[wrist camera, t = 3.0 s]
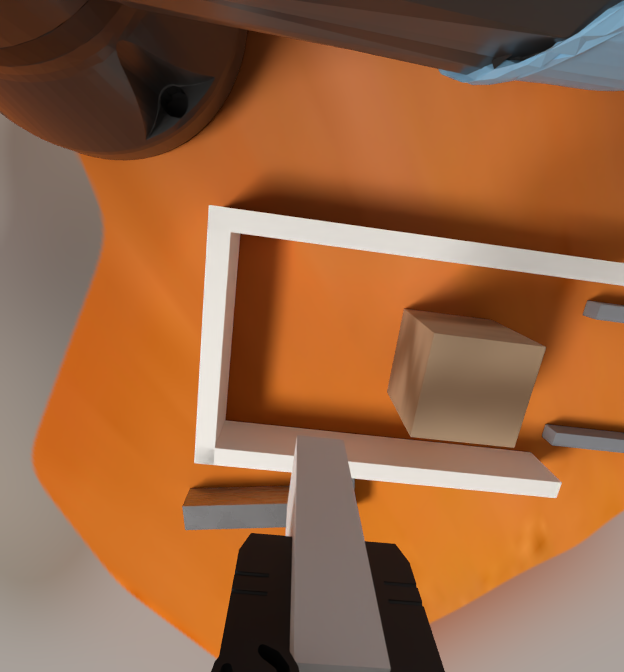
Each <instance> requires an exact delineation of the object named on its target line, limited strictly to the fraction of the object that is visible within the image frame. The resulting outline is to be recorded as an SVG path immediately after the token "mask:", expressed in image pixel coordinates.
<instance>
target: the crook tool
mask: <svg viewBox="0 0 624 672" xmlns="http://www.w3.org/2000/svg"><path fill="white" fill-rule="evenodd" d="M352 483H353V487H354V484H355V478H352ZM289 489H290V486H255V487H218V488H190V490H189V492H188V494H187V497H186V499H185V502H184V504H183V506H182V507H183V515H184V523H185V530H200V529H235V528H270V527H286V518H287V504H288V496H289Z"/></svg>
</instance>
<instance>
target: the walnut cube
mask: <svg viewBox="0 0 624 672" xmlns="http://www.w3.org/2000/svg"><path fill="white" fill-rule="evenodd" d="M545 349H546V347H545V346H543V345H541V344H539V343H537V342H535V341H533V340H531V339H529V338H527V337H525V336H523V335H521V334H519V333H517V332H515V331H513V330H511V329H509V328H507V327H505V326H503V325H501V324H499V323H497V322H495V321H493V320H490V319H482V318H474V317H466V316H458V315H450V314H442V313H435V312H427V311H419V310H411V309H404V312H403V317H402V321H401V326H400V331H399V336H398V341H397V346H396V351H395V356H394V361H393V366H392V370H391V375H390V380H389V385H388V390H387V393H388V395H389V397H390V398H391V400H392V402H393V404H394V406H395V408H396V410H397V412H398V414H399V416H400V418H401V420H402V422H403V424H404V426H405V427H406V429H407V431H408V433H409V435H410V437H416V438H426V439H435V440H445V441H454V442H464V443H473V444H483V445H493V446H502V447H512V448H514V447H515V444H516V441H517V438H518V434H519V431H520V428H521V425H522V422H523V419H524V416H525V412H526V409H527V406H528V403H529V400H530V397H531V393H532V390H533V387H534V384H535V381H536V378H537V375H538V371H539V368H540V365H541V362H542V359H543V356H544V352H545Z"/></svg>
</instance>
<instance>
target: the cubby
mask: <svg viewBox="0 0 624 672" xmlns="http://www.w3.org/2000/svg"><path fill="white" fill-rule="evenodd" d="M240 233H241V234H248V235H255V236H263V237H270V238H277V239H285V240H292V241H299V242H307V243H314V244H321V245H329V246H336V247H343V248H351V249H358V250H365V251H373V252H380V253H387V254H395V255H402V256H409V257H417V258H424V259H431V260H439V261H446V262H453V263H460V264H468V265H475V266H482V267H490V268H497V269H504V270H512V271H519V272H526V273H534V274H541V275H548V276H556V277H563V278H570V279H578V280H585V281H592V282H600V283H607V284H614V285H622V286H624V263H618V262H611V261H604V260H597V259H590V258H582V257H575V256H568V255H561V254H554V253H547V252H540V251H533V250H526V249H518V248H511V247H504V246H497V245H490V244H483V243H476V242H469V241H462V240H454V239H447V238H440V237H433V236H426V235H419V234H412V233H405V232H398V231H390V230H383V229H376V228H369V227H362V226H355V225H348V224H341V223H334V222H326V221H319V220H312V219H305V218H298V217H291V216H284V215H277V214H270V213H262V212H255V211H248V210H241V209H234V208H227V207H220V206H213V205H209V214H208V231H207V249H206V266H205V284H204V302H203V319H202V337H201V354H200V372H199V389H198V407H197V425H196V442H195V460H194V463H200V464H210V465H220V466H231V467H241V468H251V469H262V470H272V471H282V472H292V467H293V460H294V453H295V446H296V438H297V435H300V436H310V437H319V438H329V439H339V440H344V444H345V449H346V453H347V458H348V463H349V468H350V473H351V478H355V479H365V480H375V481H386V482H396V483H406V484H416V485H427V486H437V487H447V488H458V489H468V490H478V491H489V492H499V493H509V494H520V495H530V496H540V497H551V498H556V497H557V494H558V492H559V489H560V486H561V483H562V482H561V481H560V480H559V479H557V478H556V477H555V476H554V475H553V474H552V473H551V472H550V471H549V470H548V469H547V468H546V467H545V466H544V465H543V464H542V463H541V462H540V461H539V460H538V459H537V458H536V457H535V456H534V455H533V454H532V453H531V452H523V451H514V450H504V449H495V448H485V447H476V446H466V445H457V444H447V443H437V442H428V441H418V440H409V439H399V438H390V437H380V436H370V435H361V434H351V433H342V432H332V431H323V430H313V429H303V428H294V427H284V426H275V425H265V424H256V423H246V422H237V421H227V420H226V408H227V395H228V382H229V370H230V357H231V345H232V332H233V320H234V307H235V295H236V282H237V270H238V257H239V245H240Z"/></svg>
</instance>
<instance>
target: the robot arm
mask: <svg viewBox="0 0 624 672" xmlns="http://www.w3.org/2000/svg"><path fill="white" fill-rule="evenodd" d="M247 30H251V31H256V32H261V33H266V34H271V35H277V36H282V37H287V38H292V39H297V40H303V41H308V42H313V43H318V44H324V45H329V46H334V47H339V48H344V49H350V50H354V51H359V52H364V53H368V54H373V55H377V56H382V57H387V58H391V59H396V60H400V61H405V62H409V63H414V64H419V65H423V66H428V67H432V68H437V69H439V72H440V73H441V74H442V75H445V76H447V77H449V78H452V79H454V80H458V81H460V82H467V83H469V84H471V85H490V84H496V83H502V82H508V81H514V80H516V81H526V82H535V83H545V84H551V85H558V86H565V87H572V88H578V89H585V90H597V91H624V0H0V113H1V114H2V115H4V116H5V117H6V118H7V119H9V120H10V121H12V122H14V123H15V124H16V125H18V126H19V127H22V128H23V129H25V130H26V131H28V132H29V133H31V134H33V135H35V136H37V137H39V138H41V139H43V140H45V141H47V142H50V143H52V144H54V145H57V146H61V147H63V148H66V149H69V150H72V151H75V152H78V153H81V154H84V155H88V156H92V157H97V158H102V159H110V160H136V159H143V158H148V157H153V156H156V155H159V154H162V153H165V152H167V151H170V150H172V149H174V148H176V147H178V146H180V145H182V144H183V143H185V142H186V141H188V140H189V139H191V138H192V137H193V136H195V135H196V134H197V133H198V132H200V131H201V130H202V129H203V128H204V127H205V126H206V125H207V124H208V123H209V122H210V121H211V120H212V118H213V117H214V116H215V115H216V113H217V112H218V111H219V109H220V108H221V106H222V105H223V104H224V102H225V100H226V98H227V97H228V95H229V93H230V91H231V89H232V87H233V85H234V83H235V80H236V78H237V75H238V72H239V69H240V66H241V63H242V59H243V55H244V50H245V45H246V39H247ZM211 672H445V671H444V668H443V665H442V661H441V659H440V655H439V652H438V649H437V646H436V643H435V640H434V637H433V634H432V631H431V628H430V625H429V622H428V618H427V615H426V612H425V609H424V607H423V606H422V600H421V597H420V594H419V591H418V588H416V582H415V579H414V575H413V572H412V569H411V566H410V563H409V561H408V560H407V559H406V558H405V556H404V555H403V554H402V552H401V551H400V550H399V548H398V547H397V546H396V544H389V543H378V542H366V541H364V536H363V531H362V526H361V522H360V517H359V512H358V507H357V502H356V497H355V492H354V487H353V483H352V478H351V473H350V468H349V463H348V458H347V453H346V449H345V444H344V440H339V439H329V438H319V437H310V436H300V435H297V438H296V446H295V453H294V460H293V467H292V475H291V482H290V489H289V496H288V504H287V518H286V536H280V535H268V534H257V533H251V534H250V535H249V537H248V538H247V540H246V541H245V542H244V544H243V545H242V547H241V548H240V549H239V553H238V559H237V564H236V569H235V575H234V580H233V585H232V591H231V596H230V601H229V607H228V612H227V617H226V623H225V628H224V633H223V639H222V644H221V649H220V655H219V657H218V658H217V660H216V661H215V663H214V666H213V668H212V671H211Z"/></svg>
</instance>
